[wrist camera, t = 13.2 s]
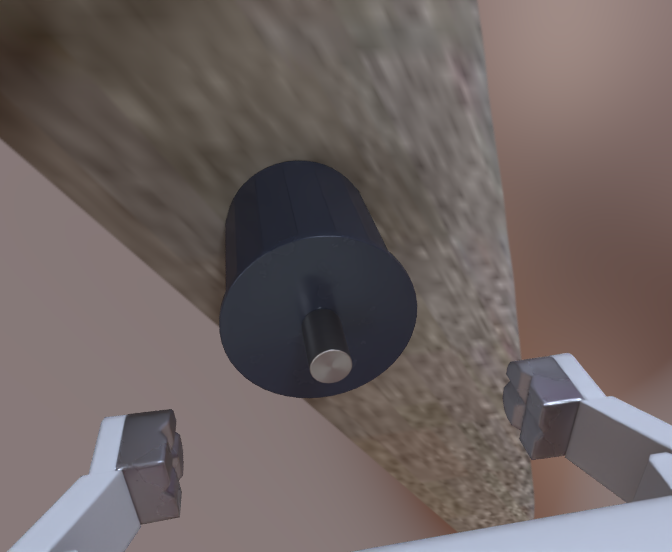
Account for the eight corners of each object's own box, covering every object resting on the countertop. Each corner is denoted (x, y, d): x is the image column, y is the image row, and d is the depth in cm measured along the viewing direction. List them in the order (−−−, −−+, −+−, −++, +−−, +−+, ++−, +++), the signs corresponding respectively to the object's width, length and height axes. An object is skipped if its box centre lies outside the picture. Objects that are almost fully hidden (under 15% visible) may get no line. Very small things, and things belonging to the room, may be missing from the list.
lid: (181, 278, 33) (175, 332, 29) (375, 193, 32) (399, 235, 28) (271, 410, 40) (277, 471, 35) (434, 342, 39) (460, 396, 35)
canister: (200, 197, 43) (192, 285, 33) (335, 136, 43) (372, 207, 32) (264, 305, 49) (275, 409, 39) (383, 253, 49) (427, 345, 38)
